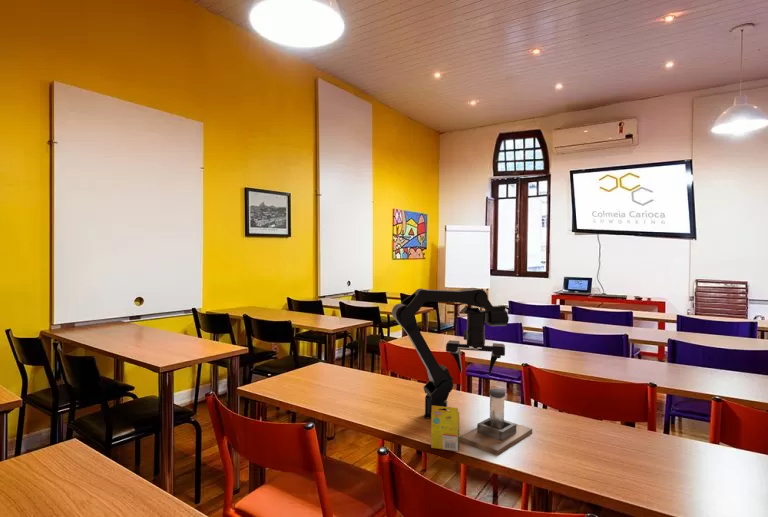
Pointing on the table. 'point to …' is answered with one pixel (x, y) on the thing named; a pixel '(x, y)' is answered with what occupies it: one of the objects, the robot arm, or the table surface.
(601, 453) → the table surface
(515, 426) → the docking board
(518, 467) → the table surface
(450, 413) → the crayon box
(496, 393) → the capped glass jar
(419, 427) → the table surface
